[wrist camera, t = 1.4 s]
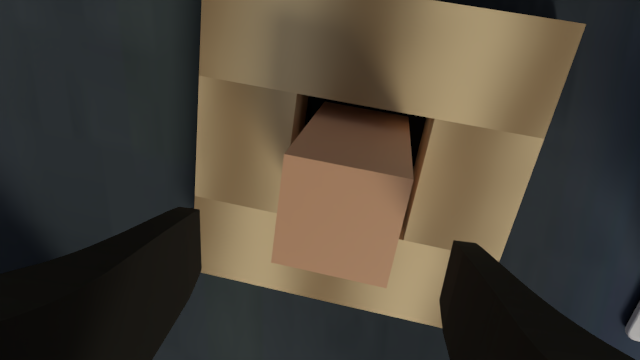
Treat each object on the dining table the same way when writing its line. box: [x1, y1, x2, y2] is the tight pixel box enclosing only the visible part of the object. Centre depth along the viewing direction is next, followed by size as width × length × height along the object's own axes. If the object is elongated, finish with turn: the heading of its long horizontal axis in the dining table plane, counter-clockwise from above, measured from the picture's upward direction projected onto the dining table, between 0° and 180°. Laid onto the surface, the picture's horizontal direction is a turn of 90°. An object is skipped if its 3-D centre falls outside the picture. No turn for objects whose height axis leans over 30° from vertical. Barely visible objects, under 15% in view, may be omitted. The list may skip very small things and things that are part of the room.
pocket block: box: [194, 0, 586, 328], centre depth 20 cm, size 14×14×3 cm
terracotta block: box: [271, 101, 414, 288], centre depth 18 cm, size 4×4×8 cm
